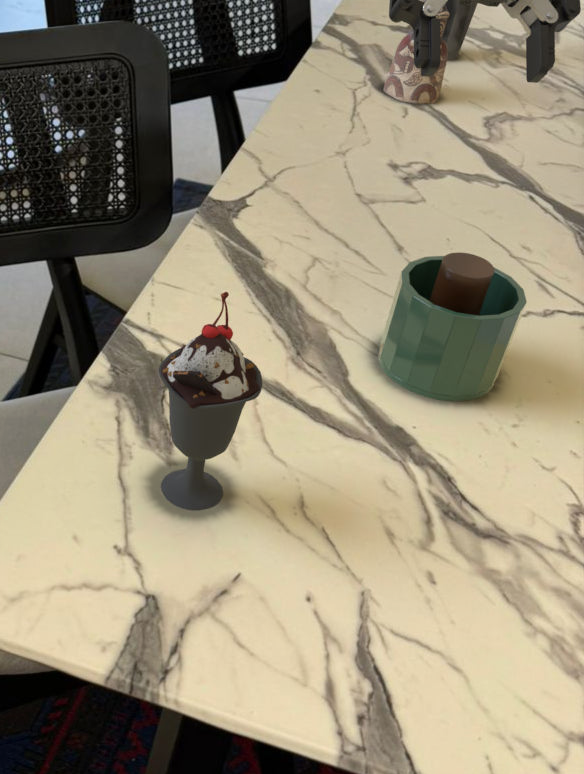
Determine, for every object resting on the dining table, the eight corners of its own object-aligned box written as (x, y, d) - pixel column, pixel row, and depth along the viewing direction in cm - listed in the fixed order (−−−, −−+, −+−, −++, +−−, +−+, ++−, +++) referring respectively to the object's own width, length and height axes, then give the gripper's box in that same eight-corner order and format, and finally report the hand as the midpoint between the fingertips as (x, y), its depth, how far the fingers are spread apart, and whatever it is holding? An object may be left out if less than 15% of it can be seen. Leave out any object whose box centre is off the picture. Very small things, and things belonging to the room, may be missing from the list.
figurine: (379, 99, 132) (403, 1, 124) (386, 81, 137) (409, -14, 130) (435, 109, 131) (463, 11, 123) (439, 91, 136) (467, -5, 128)
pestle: (466, 358, 86) (501, 263, 80) (451, 380, 83) (486, 283, 77) (421, 341, 87) (451, 247, 81) (405, 363, 85) (435, 266, 79)
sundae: (212, 453, 75) (244, 273, 65) (254, 513, 71) (295, 329, 61) (129, 470, 73) (149, 287, 63) (167, 533, 69) (194, 346, 59)
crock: (507, 364, 87) (539, 281, 82) (473, 419, 81) (506, 333, 76) (400, 325, 91) (425, 243, 85) (360, 375, 84) (384, 290, 79)
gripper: (411, -166, 76) (413, 47, 75) (596, -153, 77) (600, 57, 76) (377, -102, 83) (377, 92, 82) (546, -91, 84) (548, 101, 83)
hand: (484, 75), depth 79 cm, fingers open, 8 cm apart
